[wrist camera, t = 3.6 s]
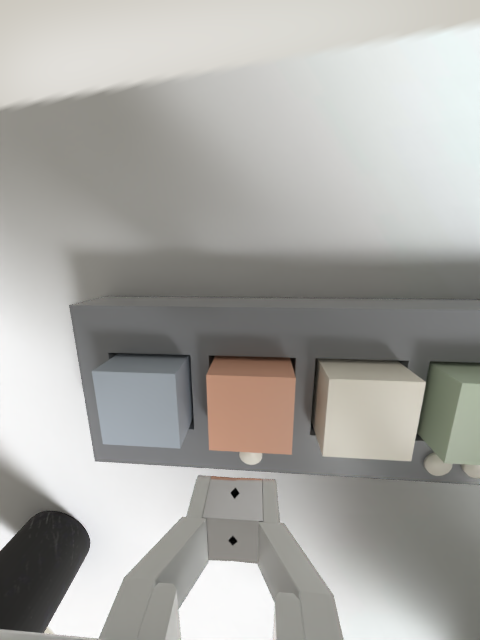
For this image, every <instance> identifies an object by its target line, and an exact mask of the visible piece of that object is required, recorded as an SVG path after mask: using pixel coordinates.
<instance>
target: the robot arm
mask: <svg viewBox="0 0 480 640" xmlns="http://www.w3.org/2000/svg"><path fill="white" fill-rule="evenodd" d="M208 560H222V561H238V562H247V563H257V564H258V566H259V569H260V571H261V573H262V575H263V578H264V580H265V582H266V584H267V586H268V589H269V591H270V593H271V595H272V598H273V600H274V602H275V607H274V629H273V640H343V636H342V631H341V627H340V622H339V618H338V613H337V609H336V604H335V600H334V596H333V594H332V593H331V591H330V590H329V588H328V587H327V585H326V584H325V582H324V581H323V579H322V578H321V577H320V575H319V574H318V572H317V571H316V569H315V568H314V566H313V565H312V563H311V562H310V560H309V559H308V558H307V556H306V555H305V553H304V552H303V550H302V549H301V547H300V546H299V544H298V543H297V542H296V540H295V539H294V537H293V536H292V534H291V533H290V531H289V530H288V528H287V527H286V526H285V524H284V523H280V519H279V507H278V496H277V484H276V480H275V479H255V478H229V477H216V476H201V475H199V476H198V477H197V479H196V483H195V487H194V490H193V494H192V498H191V501H190V505H189V509H188V512H187V516H186V517H182V518H181V519H180V520H179V521H178V522H177V523H176V524H175V525H174V526H173V527H172V528H171V529H170V530H169V531H168V532H167V533H166V534H165V535H164V537H163V538H162V539H161V540H160V541H159V542H158V543H157V544H156V545H155V546H154V547H153V548H152V549H151V550H150V551H149V552H148V553H147V554H146V555H145V556H144V557H143V558H142V560H141V561H140V562H139V563H138V564H137V565H136V566H135V567H134V568H133V569H132V570H131V571H130V572H129V573H128V574H127V575H126V576H125V577H124V579H123V582H122V584H121V586H120V589H119V591H118V593H117V596H116V598H115V601H114V603H113V605H112V608H111V610H110V613H109V615H108V617H107V620H106V622H105V625H104V627H103V629H102V632H101V634H100V637H99V639H97V638H86V637H76V636H66V635H56V634H45V633H35V632H25V631H15V630H4V629H0V640H181V632H180V621H179V611H178V609H179V608H180V606H181V605H182V603H183V601H184V600H185V598H186V597H187V595H188V594H189V592H190V590H191V589H192V587H193V586H194V584H195V582H196V581H197V579H198V578H199V576H200V575H201V573H202V571H203V570H204V568H205V567H206V565H207V563H208Z"/></svg>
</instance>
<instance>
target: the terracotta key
mask: <svg viewBox="0 0 480 640" xmlns="http://www.w3.org/2000/svg"><path fill="white" fill-rule="evenodd" d="M206 382H207V409H208V435H209V450H215V451H233V452H251V453H269V454H287V455H292V441H293V422H294V404H295V385H296V377H295V373H294V370H293V367H292V363H291V360H290V358H287V357H250V356H215V357H214V359H213V362H212V364H211V366H210V368H209V370H208V372H207V374H206Z"/></svg>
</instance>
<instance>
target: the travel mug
mask: <svg viewBox="0 0 480 640" xmlns="http://www.w3.org/2000/svg"><path fill="white" fill-rule="evenodd" d="M89 548H90V539H89V536H88V534H87V532H86V530H85V529H84V527H83V526H82V525H81V524H80V523H79V522H78V521H76V520H75V519H73V518H72V517H70V516H68V515H66V514H63V513H60V512H54V511H46V512H41V513H38V514H36V515H35V516H34V517H32V518H31V519H30V520H29V521H28V522H27V523H26V524H25V525H24V526H23V527H22V528H21V529H20V531H19V532H18V533H17V534H16V535H15V536H14V537H13V538H12V539H11V540H10V541H9V542H8V543H7V544H6V546H5V547H4V548H3V549H2V550H1V551H0V629H4V630H15V631H25V632H35V633H44V631H45V630H46V628H47V626H48V624H49V622H50V621H51V619H52V617H53V615H54V613H55V612H56V610H57V608H58V606H59V604H60V603H61V601H62V599H63V597H64V595H65V594H66V592H67V590H68V588H69V586H70V585H71V583H72V581H73V579H74V577H75V576H76V574H77V572H78V570H79V568H80V566H81V565H82V563H83V561H84V559H85V557H86V555H87V553H88V551H89Z"/></svg>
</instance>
